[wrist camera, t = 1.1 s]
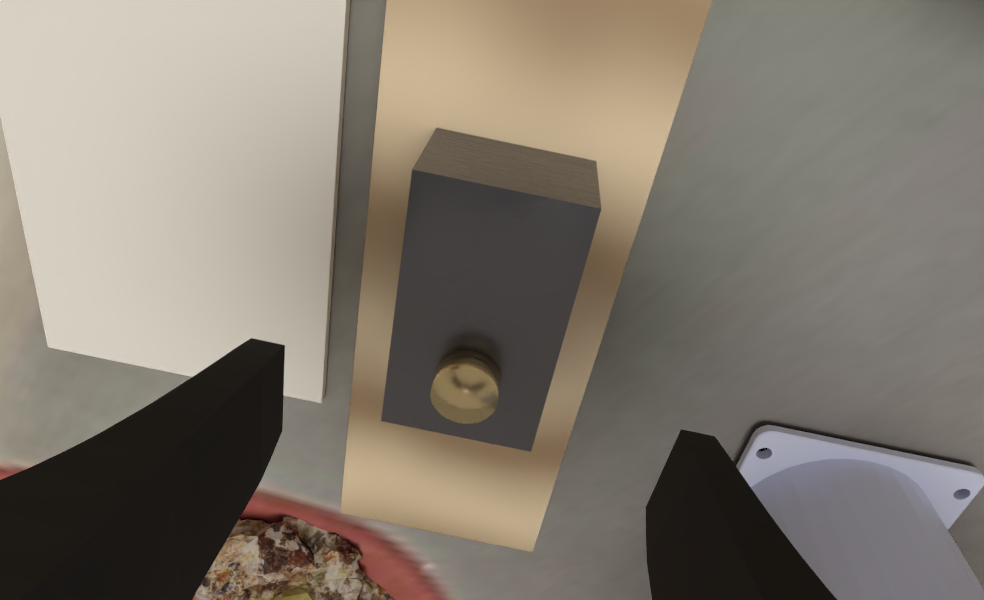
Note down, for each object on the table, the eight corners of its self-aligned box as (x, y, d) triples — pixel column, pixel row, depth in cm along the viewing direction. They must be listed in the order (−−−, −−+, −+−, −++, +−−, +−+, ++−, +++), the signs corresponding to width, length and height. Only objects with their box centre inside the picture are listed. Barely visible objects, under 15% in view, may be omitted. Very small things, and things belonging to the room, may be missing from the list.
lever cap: (535, 381, 20) (529, 474, 17) (404, 354, 20) (373, 442, 17) (596, 161, 16) (603, 224, 13) (436, 127, 16) (403, 183, 13)
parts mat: (325, 396, 24) (321, 403, 24) (55, 340, 24) (47, 347, 24) (357, -109, 16) (352, -109, 16) (-52, -196, 16) (-65, -198, 16)
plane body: (535, 498, 26) (529, 615, 22) (359, 462, 26) (318, 573, 22) (747, -186, 15) (820, -221, 10) (434, -253, 15) (379, -317, 10)
